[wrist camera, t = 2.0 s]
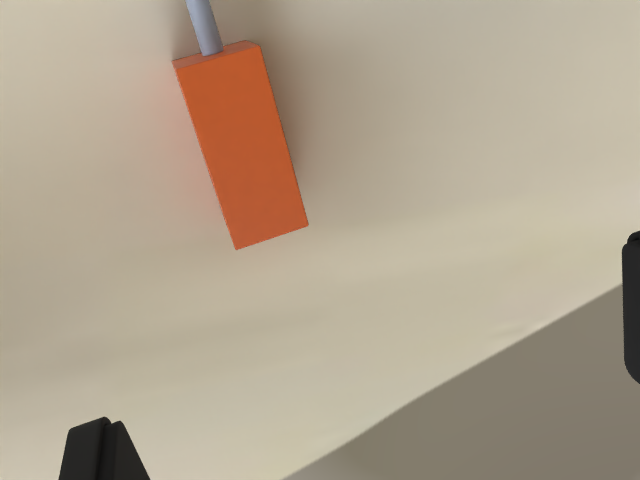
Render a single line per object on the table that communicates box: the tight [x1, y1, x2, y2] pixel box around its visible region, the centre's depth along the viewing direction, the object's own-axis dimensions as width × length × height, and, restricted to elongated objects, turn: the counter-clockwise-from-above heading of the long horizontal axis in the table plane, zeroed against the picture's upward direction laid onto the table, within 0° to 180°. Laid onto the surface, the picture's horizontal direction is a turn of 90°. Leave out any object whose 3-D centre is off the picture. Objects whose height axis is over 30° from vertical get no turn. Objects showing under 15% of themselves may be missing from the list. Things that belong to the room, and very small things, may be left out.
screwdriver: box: [172, 0, 309, 250], centre depth 22 cm, size 13×3×3 cm, turn 14°
